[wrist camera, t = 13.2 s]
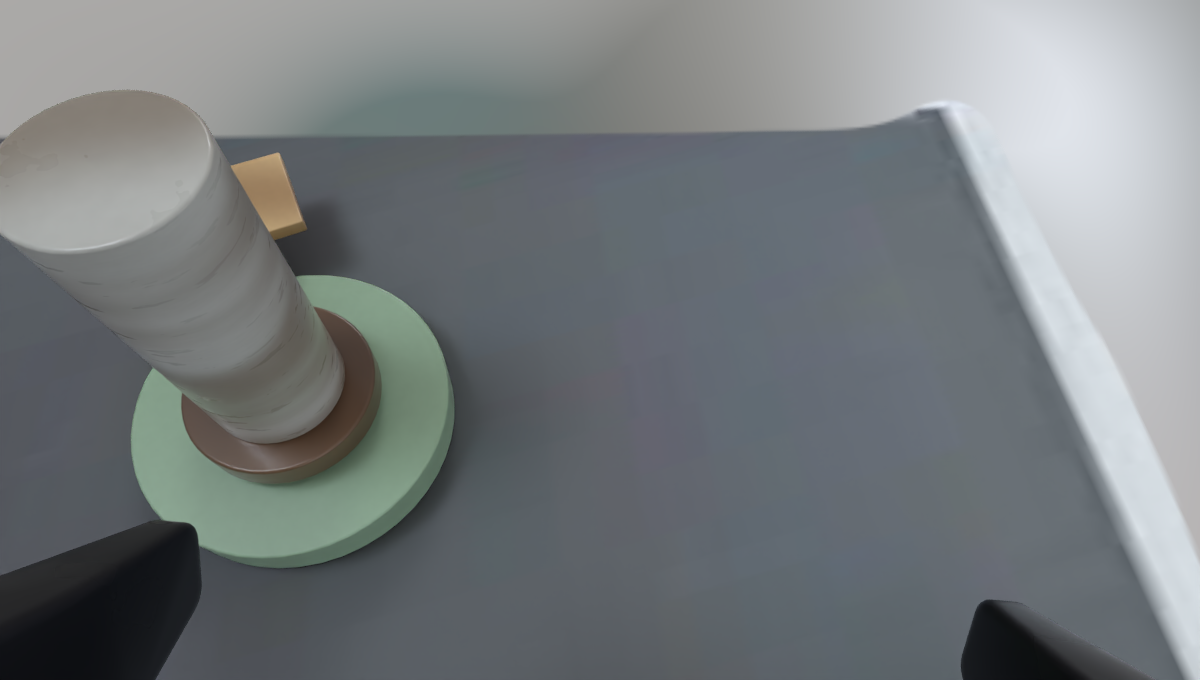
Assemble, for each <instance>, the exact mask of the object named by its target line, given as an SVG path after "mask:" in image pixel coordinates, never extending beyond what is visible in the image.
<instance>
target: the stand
mask: <svg viewBox="0 0 1200 680" xmlns="http://www.w3.org/2000/svg"><path fill="white" fill-rule="evenodd" d="M296 278H297V280H298V282H299V284H300V285H301V287H302V289H303V290H304V292H305V294H306V295H307V297H308V299H309V301H310V302H311V304H312V306H314V307H319V308H322V309H326V310H329V311H331V312H333V313H336V314H338V315H340V316H341V317H343V318H345V319H346V320H348V321H349V322H350V323H351V324H353V325H354V326H355V327H356V328H357V329H358V330H359V331H360V332H361V333H362V335H363V336H364V338H365V339H366V341H367V342H368V344H369V346H370V348H371V350H372V352H373V355H374V357H375V359H376V361H377V363H378V366H379V370H380V373H381V382H382V391H381V399H380V405H379V408H378V411H377V414H376V417H375V419H374V421H373V423H372V425H371V427H370V429H369V430H368V432H367V433H366V435H365V437H364V438H363V439H362V440H361V441H360V443H359V444H358V445H357V446H356V447H355V448H354V449H353V450H352V451H351V452H350V453H349V454H348V455H347V456H346V457H344V458H343V459H342V460H341V461H339V462H338V463H336V464H335V465H333V466H332V467H330V468H328V469H327V470H325V471H323V472H320V473H318V474H316V475H314V476H311V477H308V478H305V479H302V480H298V481H293V482H289V483H279V484H262V483H256V482H250V481H247V480H243V479H240V478H238V477H235V476H233V475H231V474H229V473H227V472H226V471H224V470H223V469H221V468H220V467H219V466H217V465H216V464H214V463H213V462H212V461H210V460H209V459H208V458H206V457H205V456H204V455H203V454H202V453H201V452H200V451H199V450H198V449H197V448H196V446H195V445H194V444H193V442H192V441H191V440H190V438H189V436H188V434H187V432H186V429H185V426H184V423H183V419H182V411H181V397H182V392H181V391H180V390H179V389H178V388H176V387H175V386H174V385H173V384H172V383H171V382H169V381H168V380H167V379H166V378H165V377H164V376H163V375H161V374H160V373H159V372H158V371H157V370H156V369H155V368H152V370H151V372H150V373H149V375H148V377H147V379H146V380H145V383H144V385H143V388H142V390H141V392H140V395H139V397H138V400H137V404H136V408H135V412H134V416H133V422H132V431H131V454H132V460H133V465H134V470H135V475H136V477H137V480H138V482H139V485H140V488H141V490H142V493H143V494H144V496H145V498H146V499H147V501H148V502H149V504H150V506H151V507H152V509H153V510H154V511H155V512H156V513H157V515H158V516H159V517H160V518H161V519H162V520H165V521H176V522H186V523H190V524H191V525H193V526H194V527H195V529H196V531H197V534H198V541H199V546H200V547H202V548H204V549H206V550H209V551H211V552H213V553H215V554H217V555H219V556H222V557H224V558H227V559H230V560H232V561H235V562H238V563H242V564H247V565H252V566H256V567H267V568H292V567H303V566H308V565H313V564H319V563H323V562H326V561H329V560H332V559H336V558H339V557H342V556H344V555H347V554H349V553H351V552H353V551H355V550H358V549H360V548H362V547H364V546H365V545H367V544H369V543H370V542H372V541H374V540H375V539H377V538H379V537H380V536H382V535H383V534H385V533H386V532H387V531H388V530H390V529H391V528H392V527H394V526H395V525H396V524H398V523H399V522H400V521H401V520H402V519H403V518H404V517H405V516H406V515H407V514H408V513H409V512H410V511H411V510H412V509H413V508H414V507H415V506H416V505H417V503H418V502H419V501H420V500H421V498H422V497H423V496H424V495H425V493H426V492H427V491H428V489H429V488H430V486H431V484H432V483H433V481H434V480H435V478H436V476H437V475H438V473H439V470H440V468H441V466H442V464H443V462H444V460H445V457H446V454H447V451H448V448H449V445H450V442H451V437H452V432H453V426H454V410H455V404H454V395H453V388H452V384H451V380H450V376H449V373H448V369H447V366H446V363H445V359H444V356H443V353H442V351H441V349H440V346H439V344H438V342H437V340H436V338H435V336H434V335H433V333H432V332H431V330H430V328H429V327H428V325H427V324H426V323H425V322H424V321H423V319H422V318H421V317H420V316H419V315H418V314H417V313H416V312H415V311H414V310H413V309H412V308H411V307H409V306H408V305H407V304H406V303H405V302H403V301H402V300H400V299H399V298H397V297H396V296H394V295H392V294H391V293H389V292H387V291H385V290H383V289H381V288H378V287H376V286H374V285H371V284H368V283H365V282H362V281H359V280H355V279H349V278H344V277H338V276H326V275H310V276H297V277H296Z"/></svg>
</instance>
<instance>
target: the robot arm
mask: <svg viewBox="0 0 1200 680" xmlns="http://www.w3.org/2000/svg"><path fill="white" fill-rule="evenodd" d="M201 587H202V582H201V568H200V555H199V541H198V534H197V531H196V529H195V527H194V526H193V525H191V524H190V523H186V522H176V521H165V520H153V521H150V522H147V523H144V524H142V525H139V526H136V527H133V528H131V529H128V530H125V531H122V532H120V533H117V534H114V535H111V536H109V537H106V538H103V539H100V540H98V541H95V542H92V543H89V544H87V545H84V546H81V547H78V548H76V549H73V550H70V551H67V552H65V553H62V554H59V555H56V556H54V557H51V558H48V559H45V560H42V561H40V562H37V563H34V564H31V565H29V566H26V567H23V568H20V569H18V570H15V571H12V572H9V573H7V574H4V575H1V576H0V680H155V679H156V677H157V676H158V674H159V672H160V670H161V669H162V667H163V665H164V663H165V662H166V660H167V658H168V656H169V655H170V653H171V651H172V649H173V648H174V646H175V644H176V642H177V641H178V639H179V637H180V635H181V633H182V632H183V630H184V628H185V626H186V625H187V623H188V621H189V619H190V618H191V616H192V614H193V612H194V611H195V609H196V607H197V604H198V601H199V598H200V594H201ZM961 672H962V677H963V680H1156V679H1154V678H1152V677H1150V676H1149V675H1147V674H1145V673H1143V672H1142V671H1140V670H1138V669H1136V668H1135V667H1133V666H1131V665H1129V664H1128V663H1126V662H1124V661H1122V660H1121V659H1119V658H1117V657H1115V656H1114V655H1112V654H1110V653H1108V652H1107V651H1105V650H1103V649H1101V648H1100V647H1098V646H1096V645H1094V644H1093V643H1091V642H1089V641H1087V640H1086V639H1084V638H1082V637H1080V636H1079V635H1077V634H1075V633H1073V632H1072V631H1070V630H1068V629H1066V628H1065V627H1063V626H1061V625H1059V624H1058V623H1056V622H1054V621H1052V620H1051V619H1049V618H1047V617H1045V616H1044V615H1042V614H1040V613H1038V612H1036V611H1035V610H1033V609H1031V608H1029V607H1028V606H1026V605H1024V604H1022V603H1018V602H1011V601H1000V600H985V601H983V602H981V603H980V604H979V605H978V607H977V609H976V611H975V614H974V618H973V621H972V624H971V627H970V631H969V634H968V637H967V641H966V644H965V647H964V651H963V654H962V659H961Z"/></svg>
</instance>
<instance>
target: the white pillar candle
mask: <svg viewBox="0 0 1200 680" xmlns="http://www.w3.org/2000/svg"><path fill="white" fill-rule="evenodd" d="M305 230H307V226H306V224H305V221H304V218H303V215H302V212H301V209H300V206H299V204H298V201H297V198H296V195H295V192H294V189H293V187H292V184H291V181H290V178H289V175H288V172H287V169H286V167H285V164H284V161H283V159H282V157H281V155H280V154H279V153H275V154H271V155H268V156H264V157H261V158H257V159H254V160H250V161H247V162H243V163H239V164H236V165H232V166H230V164H229V162H228V161H227V159H226V157H225V156H224V154H223V152H222V150H221V149H220V147H219V145H218V144H217V142H216V140H215V138H214V137H213V135H212V133H211V132H210V130H209V128H208V127H207V126H206V124H205V122H204V121H203V120H202V119H201V118H200V116H199V115H198V114H197V113H196V112H194V111H193V110H192V109H190V108H189V107H188V106H186V105H185V104H183V103H181V102H179V101H177V100H175V99H173V98H170V97H168V96H165V95H161V94H157V93H153V92H147V91H139V90H112V91H104V92H97V93H92V94H88V95H83V96H80V97H76V98H73V99H70V100H67V101H65V102H62V103H59V104H57V105H55V106H52V107H51V108H48V109H46V110H44V111H42V112H41V113H39V114H37V115H35V116H34V117H32V118H30V119H29V120H28V121H26V122H25V123H23V124H22V125H20V126H19V127H18V128H17V129H16V130H14V131H13V132H12V133H11V134H10V135H9V136H8V137H7V138H6V139H5V140H4V141H3V142H2V143H1V144H0V234H1V235H2V236H3V237H4V238H5V239H6V240H7V241H8V242H10V243H11V244H12V245H13V246H14V247H15V248H16V249H18V250H19V251H20V252H21V253H22V254H23V255H25V256H26V257H27V258H28V259H29V260H30V261H31V262H33V263H34V264H35V265H36V266H37V267H38V268H39V269H41V270H42V271H43V272H44V273H45V274H46V275H48V276H49V277H50V278H51V279H52V280H53V281H54V282H56V283H57V284H58V285H59V286H60V287H61V288H62V289H64V290H65V291H66V292H67V293H68V294H69V295H71V296H72V297H73V298H74V299H75V300H76V301H77V302H79V303H80V304H81V305H82V306H83V307H84V308H85V309H87V310H88V311H89V312H90V313H91V314H92V315H94V316H95V317H96V318H97V319H98V320H99V321H100V322H102V323H103V324H104V325H105V326H106V327H107V328H108V329H110V330H111V331H112V332H113V333H114V334H115V335H117V336H118V337H119V338H120V339H121V340H122V341H123V342H125V343H126V344H127V345H128V346H129V347H130V348H131V349H133V350H134V351H135V352H136V353H137V354H138V355H140V356H141V357H142V358H143V359H144V360H145V361H146V362H148V363H149V364H150V365H151V366H152V367H153V368H155V369H156V370H157V371H158V372H159V373H160V374H161V375H163V376H164V377H165V378H166V379H167V380H168V381H169V382H171V383H172V384H173V385H174V386H175V387H176V388H178V389H179V390H180V391H181V392H182V397H181V411H182V419H183V423H184V426H185V429H186V432H187V434H188V436H189V438H190V440H191V441H192V442H193V444H194V445H195V446H196V448H197V449H198V450H199V451H200V452H201V453H202V454H203V455H204V456H205V457H206V458H208V459H209V460H210V461H212V462H213V463H214V464H216V465H217V466H219V467H220V468H221V469H223V470H224V471H226V472H227V473H229V474H231V475H233V476H235V477H238V478H240V479H243V480H247V481H250V482H256V483H262V484H279V483H289V482H293V481H298V480H302V479H305V478H308V477H311V476H314V475H316V474H318V473H320V472H323V471H325V470H327V469H328V468H330V467H332V466H333V465H335V464H336V463H338V462H339V461H341V460H342V459H343V458H344V457H346V456H347V455H348V454H349V453H350V452H351V451H352V450H353V449H354V448H355V447H356V446H357V445H358V444H359V443H360V441H361V440H362V439H363V438H364V437H365V435H366V433H367V432H368V430H369V429H370V427H371V425H372V423H373V421H374V419H375V417H376V414H377V411H378V408H379V405H380V399H381V391H382V382H381V373H380V370H379V366H378V363H377V361H376V359H375V357H374V355H373V352H372V350H371V348H370V346H369V344H368V342H367V341H366V339H365V338H364V336H363V335H362V333H361V332H360V331H359V330H358V329H357V328H356V327H355V326H354V325H353V324H351V323H350V322H349V321H348V320H346V319H345V318H343V317H341V316H340V315H338V314H336V313H333V312H331V311H329V310H326V309H322V308H319V307H314V306H312V304H311V302H310V301H309V299H308V297H307V295H306V294H305V292H304V290H303V289H302V287H301V285H300V284H299V282H298V280H297V278H296V277H295V275H294V273H293V272H292V270H291V268H290V266H289V265H288V263H287V261H286V260H285V258H284V256H283V254H282V253H281V251H280V249H279V248H278V246H277V244H276V243H275V241H274V240H277V239H280V238H283V237H286V236H289V235H293V234H296V233H299V232H302V231H305Z"/></svg>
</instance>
